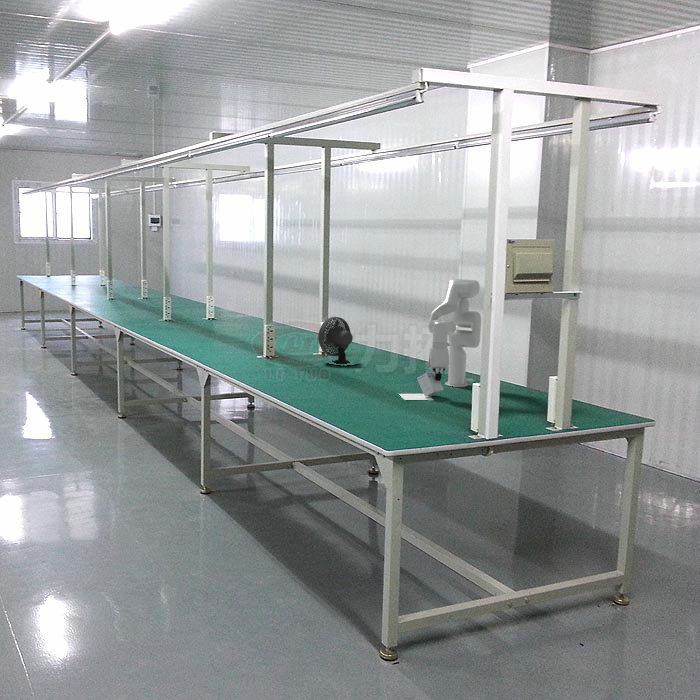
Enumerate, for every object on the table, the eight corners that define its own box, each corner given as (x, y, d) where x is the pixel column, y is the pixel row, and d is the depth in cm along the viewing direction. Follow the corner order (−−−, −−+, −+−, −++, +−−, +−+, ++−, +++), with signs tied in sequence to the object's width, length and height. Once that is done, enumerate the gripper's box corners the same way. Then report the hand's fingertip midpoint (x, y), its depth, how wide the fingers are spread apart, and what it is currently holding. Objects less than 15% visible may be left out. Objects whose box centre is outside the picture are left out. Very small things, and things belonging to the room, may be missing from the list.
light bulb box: (434, 395, 401) (426, 376, 403) (444, 390, 397) (436, 371, 400) (424, 396, 392) (416, 377, 395) (434, 391, 389) (426, 372, 391)
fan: (354, 360, 512) (355, 315, 508) (360, 366, 486) (361, 320, 482) (315, 359, 509) (316, 315, 504) (319, 366, 483) (320, 319, 479)
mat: (425, 394, 402) (425, 393, 402) (433, 400, 387) (433, 399, 387) (397, 394, 400) (397, 393, 400) (405, 400, 384) (405, 400, 384)
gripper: (451, 344, 397) (449, 379, 399) (423, 344, 394) (422, 379, 396) (455, 346, 389) (454, 382, 392) (427, 346, 386) (426, 382, 389)
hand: (438, 380), depth 394 cm, fingers closed
